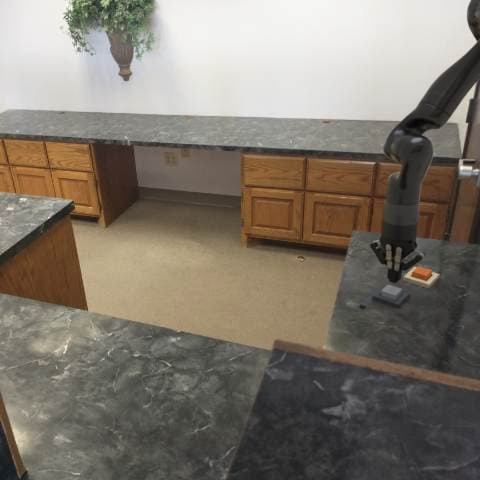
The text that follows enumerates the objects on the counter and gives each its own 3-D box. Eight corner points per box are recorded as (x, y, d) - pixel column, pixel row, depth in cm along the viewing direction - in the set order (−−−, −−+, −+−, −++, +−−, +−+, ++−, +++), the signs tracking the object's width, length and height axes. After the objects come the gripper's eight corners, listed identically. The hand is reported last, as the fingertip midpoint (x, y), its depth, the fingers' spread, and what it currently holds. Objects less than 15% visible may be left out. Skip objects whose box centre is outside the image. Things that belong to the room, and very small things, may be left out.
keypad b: (381, 287, 135) (382, 278, 134) (420, 300, 128) (422, 290, 127) (359, 307, 128) (360, 297, 127) (399, 322, 121) (400, 312, 120)
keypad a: (410, 270, 141) (412, 260, 140) (449, 281, 135) (451, 271, 133) (391, 288, 134) (392, 278, 133) (430, 301, 128) (432, 291, 126)
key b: (387, 290, 130) (388, 284, 129) (401, 294, 127) (402, 288, 126) (380, 296, 127) (381, 290, 127) (394, 301, 125) (395, 295, 124)
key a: (417, 271, 136) (418, 266, 135) (431, 275, 133) (432, 270, 132) (411, 277, 134) (412, 271, 133) (425, 281, 131) (426, 275, 130)
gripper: (437, 218, 115) (428, 283, 123) (380, 205, 124) (374, 267, 132) (423, 230, 111) (414, 296, 119) (365, 216, 120) (360, 279, 128)
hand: (393, 281), depth 125 cm, fingers closed
